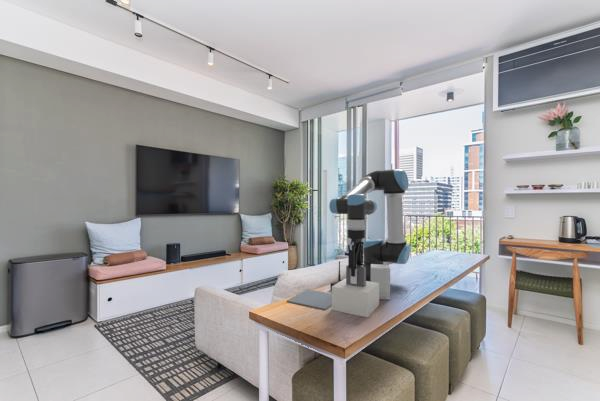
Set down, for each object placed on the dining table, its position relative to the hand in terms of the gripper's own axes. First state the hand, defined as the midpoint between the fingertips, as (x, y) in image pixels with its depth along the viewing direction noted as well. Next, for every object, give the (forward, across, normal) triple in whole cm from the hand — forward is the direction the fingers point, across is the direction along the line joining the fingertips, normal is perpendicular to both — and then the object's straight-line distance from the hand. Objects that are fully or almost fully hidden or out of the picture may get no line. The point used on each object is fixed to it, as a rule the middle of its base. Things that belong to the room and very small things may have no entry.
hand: (356, 281), depth 129 cm
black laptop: (+12, -22, -14) cm, 28 cm away
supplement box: (+12, -20, +5) cm, 24 cm away
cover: (+11, 0, 0) cm, 11 cm away
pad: (+11, 0, -20) cm, 23 cm away
